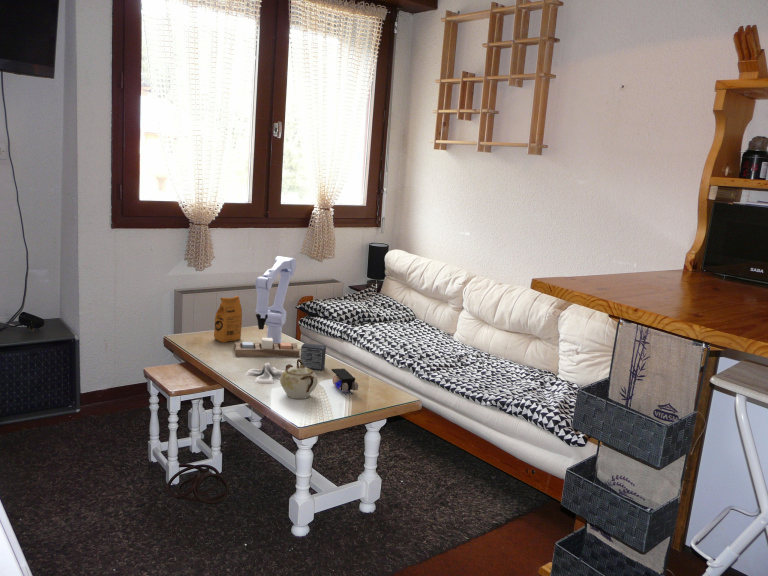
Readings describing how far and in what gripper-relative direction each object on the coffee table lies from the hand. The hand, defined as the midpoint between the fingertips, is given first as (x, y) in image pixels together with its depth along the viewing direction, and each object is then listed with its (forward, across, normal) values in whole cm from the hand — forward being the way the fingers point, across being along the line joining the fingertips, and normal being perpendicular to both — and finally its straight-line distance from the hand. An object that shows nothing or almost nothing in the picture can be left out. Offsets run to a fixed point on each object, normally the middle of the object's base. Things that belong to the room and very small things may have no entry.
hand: (260, 329), depth 315 cm
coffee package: (+11, +17, +15) cm, 25 cm away
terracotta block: (+10, -4, -12) cm, 16 cm away
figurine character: (+11, -55, -31) cm, 64 cm away
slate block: (+10, -4, +6) cm, 12 cm away
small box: (+11, -26, -22) cm, 36 cm away
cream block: (+8, -4, -3) cm, 9 cm away
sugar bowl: (+11, -61, -11) cm, 63 cm away
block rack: (+10, -4, -3) cm, 12 cm away
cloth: (+11, -37, -2) cm, 39 cm away
